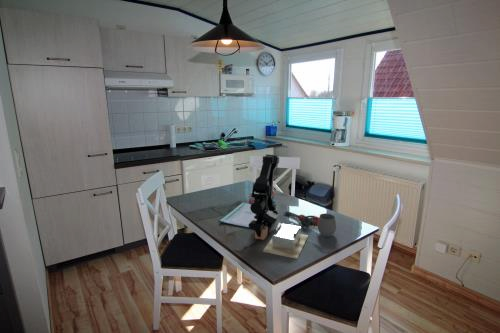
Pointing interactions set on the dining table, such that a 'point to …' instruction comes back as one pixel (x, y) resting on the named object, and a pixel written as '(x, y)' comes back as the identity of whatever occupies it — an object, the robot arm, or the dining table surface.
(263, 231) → the brown block with knob
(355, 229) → the dining table surface
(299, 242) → the mounting board
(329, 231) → the cup
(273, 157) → the robot arm
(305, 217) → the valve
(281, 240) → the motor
